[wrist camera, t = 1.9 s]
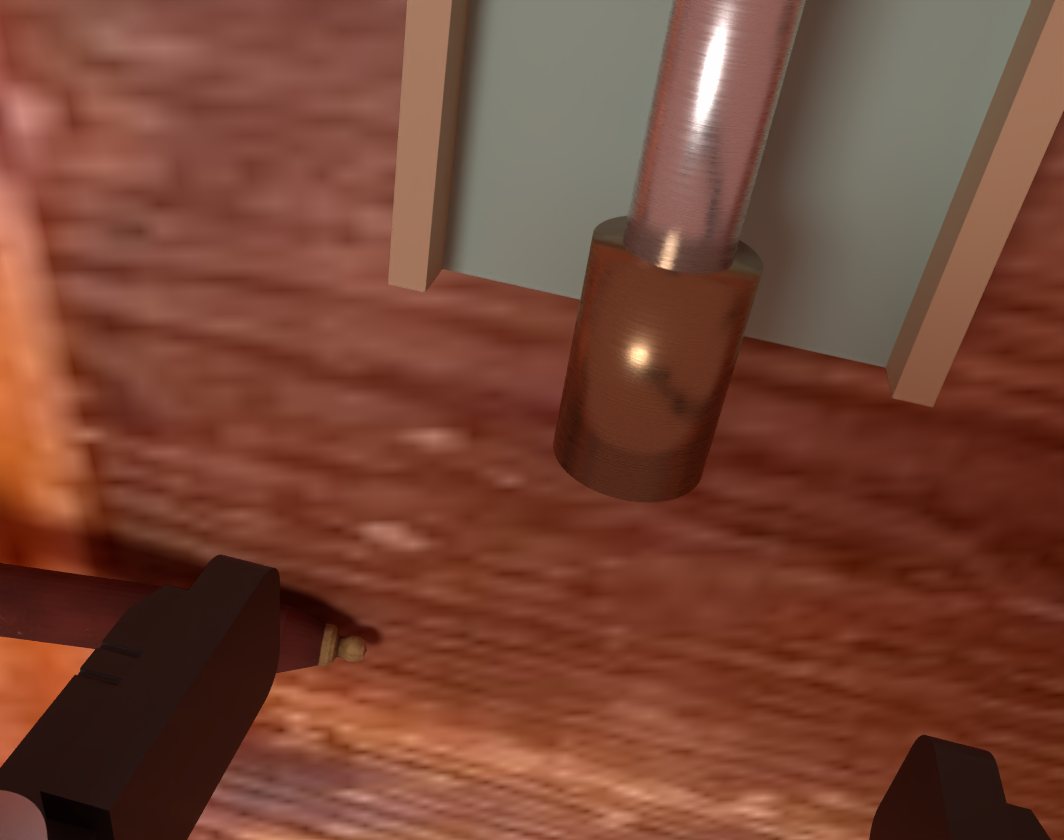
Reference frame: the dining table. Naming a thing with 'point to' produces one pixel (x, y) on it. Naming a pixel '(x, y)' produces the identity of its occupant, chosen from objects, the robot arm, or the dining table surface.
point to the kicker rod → (676, 259)
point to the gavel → (98, 603)
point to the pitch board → (785, 170)
